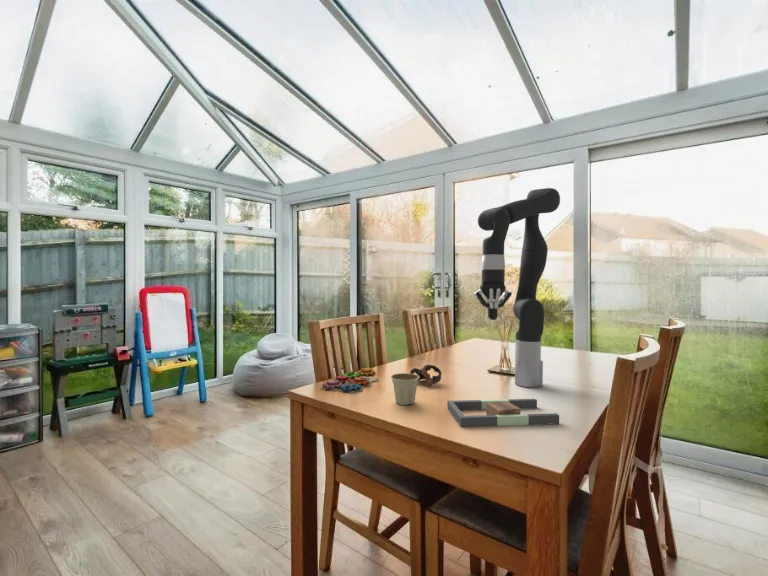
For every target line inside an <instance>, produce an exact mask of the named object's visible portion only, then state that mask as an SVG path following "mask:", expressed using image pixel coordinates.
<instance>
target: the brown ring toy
mask: <svg viewBox="0 0 768 576" xmlns="http://www.w3.org/2000/svg"><path fill="white" fill-rule="evenodd" d="M431 370H433V372H435V373H438V375H432V377H431V374H430V373H428V371H431ZM409 373H410V374H416V375H418V376H419V377H420V378H419V379H418V382H419V381H423V380H424V381H425V380H426V381H427V383H426V386H428V387H433V385H435V384H437V383H439V382H440V381H441V380H442V371H441V369H440V368H438V366H437V365H433V364H426V365H424V366H423V367H421V368H420V369H419V368H416V367H413V368H412V369H410V372H409Z"/></svg>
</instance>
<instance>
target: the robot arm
mask: <svg viewBox="0 0 768 576" xmlns="http://www.w3.org/2000/svg"><path fill="white" fill-rule="evenodd" d="M526 195H527V196H526V198H525V199H520V200H515V201H512V202H509V203H506V204H504V205H501V206H497V207H493V208H489V209H485V210H483V211H482V212H481V213H479V215H478V217H477V225H478V227H479V228H480V229H481V230H483V231H486V232H487V231H488V232H490V231H492V234H491V235H490V236H487V237H485V238H484V239H483V240H482V259H481V285H480V287H479V289H478V290H477V291H475V292H474V293H473V294H474V297H475V298H476V299H477V300H478V302H479V303H480V304H481V306H482V307H484V308H487V317H488V319H489V320H490V321H495V320H496V319H498V310H499V308H502V307H504V305H506V303H507V302H508V301H509V299H510V298H511V297H512V293H513V292H512V291H511V292H510V291H508V290H507V289H506V285H505V280H506V279H505V278H506V276H505V275H506V273H505V271H506V270H505V269H506V265H505V264H506V262H505V261H506V260H505V259H506V258H505V243H506V237H507V235H508V231H509V228H510V225H511V224H515V223H517V222H519V221H521V220H525V221H524V232H523V242H522V249H521V255H520V267H519V274H518V276H519V277H518V286H517V291H516V294H515V299H514V302H513V303H514V304H513V308H512V309H513V313H514V316H515V318H516V319H518V320H519V323H518V329H517V331H516V333H515V349H514V350H515V352H514V353H515V354H514V355H515V357H514V358H515V359H514V361H515V364H514V365H515V367H514V384H515V385H517V386H519V387H525V388H539V387H543V381H544V378H543V374H544V373H543V372H544V369H543V368H544V361H543V360H542V359H541V358H542V336H543V333H544V323H545V308H544V305H543V304H542V302H540V301H539V300H538V299H537V298H536V297H537V289H538V284H539V282H540V279H541V277H542V275H543V273H544V271H545V268H546V265H547V258H548V250H549V248H548V245H547V242H546V240H545V238H544V235H543V234H542V231H541V229H540V225H539V218H540V214H550V213H553V212H555V211H556V210H558V208H559V206H560V203H561V196H560V192H559V191H558V190H557V189H556V188H554V187H553V188H551V187H546V188H539V189H532V190H530V191H529V192H528V193H527V194H526ZM483 296H484V297H485V299H484V297H483ZM500 298H501V299H500Z"/></svg>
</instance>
